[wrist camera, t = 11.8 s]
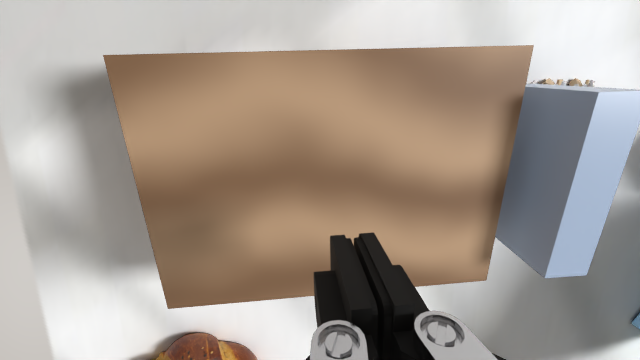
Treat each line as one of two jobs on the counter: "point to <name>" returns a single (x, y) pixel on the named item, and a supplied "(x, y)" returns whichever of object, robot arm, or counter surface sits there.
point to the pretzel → (205, 349)
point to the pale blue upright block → (565, 173)
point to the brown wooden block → (317, 161)
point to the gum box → (636, 322)
